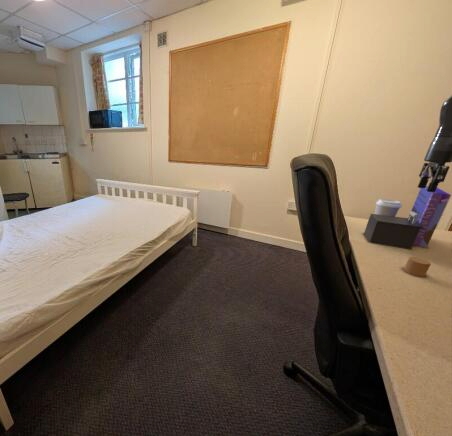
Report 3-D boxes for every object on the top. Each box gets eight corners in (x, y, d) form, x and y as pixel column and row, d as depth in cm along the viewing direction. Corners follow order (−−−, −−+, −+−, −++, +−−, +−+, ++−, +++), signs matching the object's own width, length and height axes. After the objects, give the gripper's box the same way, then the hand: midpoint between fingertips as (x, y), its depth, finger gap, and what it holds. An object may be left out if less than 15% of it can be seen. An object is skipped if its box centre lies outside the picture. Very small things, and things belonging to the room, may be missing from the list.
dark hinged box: (401, 239, 104) (409, 220, 100) (411, 249, 95) (420, 228, 91) (363, 233, 110) (370, 215, 107) (369, 242, 101) (376, 222, 98)
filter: (421, 270, 80) (427, 258, 78) (427, 278, 75) (434, 265, 74) (401, 266, 82) (406, 255, 80) (406, 273, 78) (412, 261, 76)
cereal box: (426, 247, 96) (451, 194, 88) (410, 244, 99) (433, 192, 90) (416, 234, 109) (436, 187, 101) (402, 232, 112) (421, 185, 103)
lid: (411, 220, 100) (416, 210, 98) (423, 228, 91) (428, 217, 89) (370, 215, 107) (373, 205, 105) (376, 222, 98) (380, 211, 96)
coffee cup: (397, 231, 113) (408, 203, 108) (382, 232, 112) (392, 204, 106) (377, 224, 122) (387, 198, 117) (363, 225, 120) (372, 199, 115)
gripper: (468, 150, 79) (447, 194, 84) (447, 148, 90) (430, 187, 96) (437, 150, 82) (420, 192, 88) (421, 148, 94) (406, 185, 99)
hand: (425, 189), depth 92 cm, fingers open, 8 cm apart
